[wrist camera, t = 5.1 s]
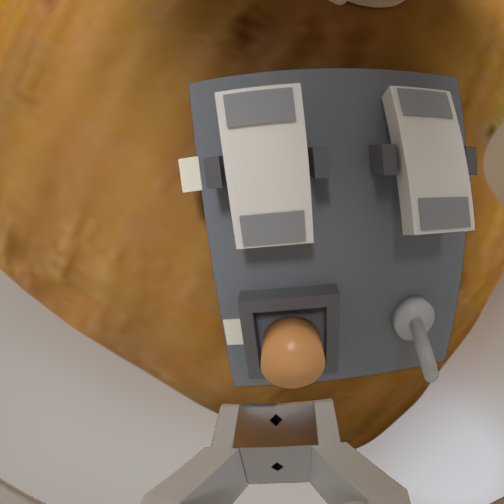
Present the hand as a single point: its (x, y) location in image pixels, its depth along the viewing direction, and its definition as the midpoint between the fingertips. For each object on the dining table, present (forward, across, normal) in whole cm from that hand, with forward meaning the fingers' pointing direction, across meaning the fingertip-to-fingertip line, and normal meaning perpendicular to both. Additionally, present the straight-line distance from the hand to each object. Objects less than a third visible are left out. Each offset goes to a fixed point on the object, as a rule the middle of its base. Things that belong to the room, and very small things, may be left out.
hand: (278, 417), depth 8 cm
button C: (+10, 0, +4) cm, 11 cm away
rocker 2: (+10, -9, -6) cm, 15 cm away
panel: (+15, -4, -1) cm, 15 cm away
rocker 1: (+10, 0, -6) cm, 12 cm away
